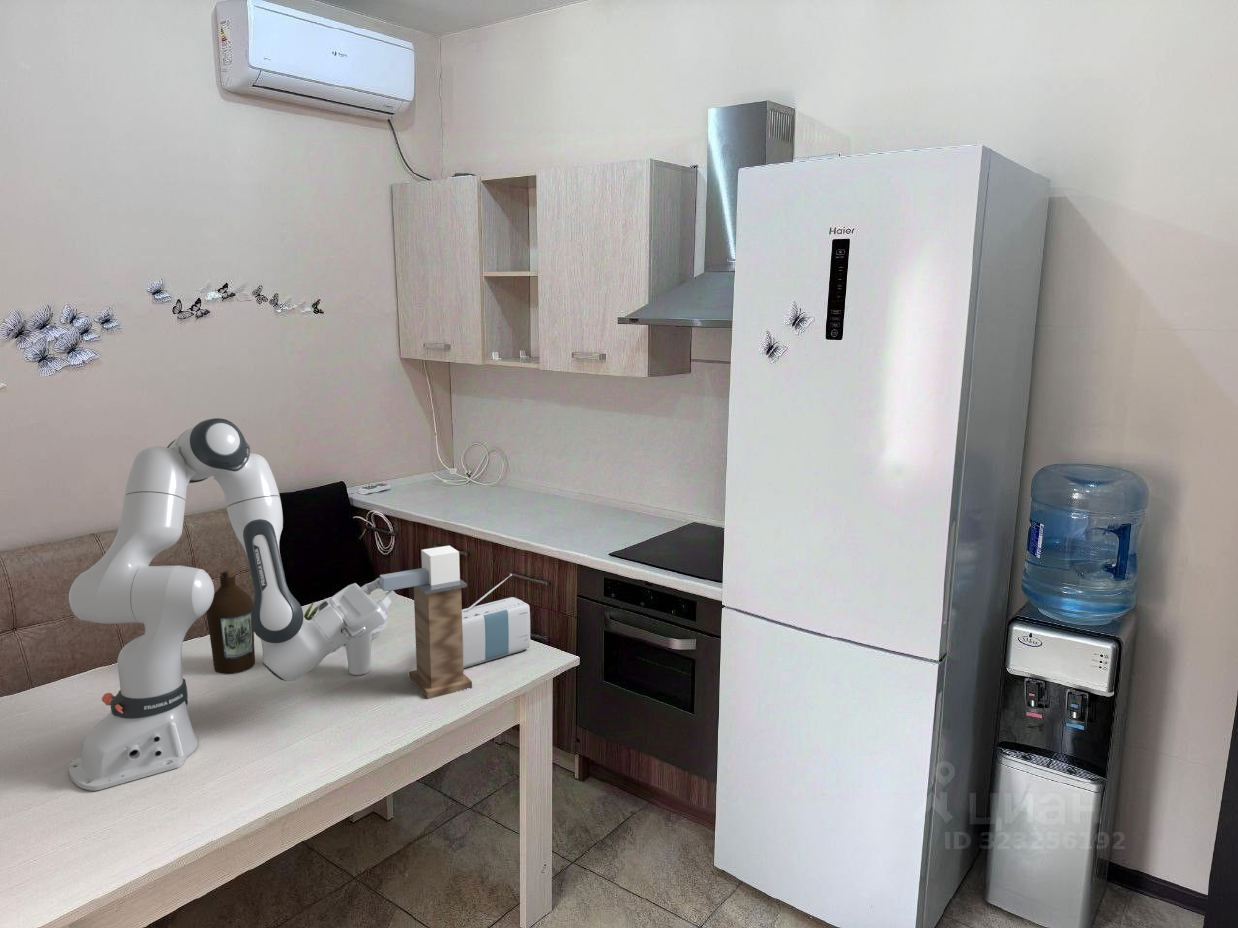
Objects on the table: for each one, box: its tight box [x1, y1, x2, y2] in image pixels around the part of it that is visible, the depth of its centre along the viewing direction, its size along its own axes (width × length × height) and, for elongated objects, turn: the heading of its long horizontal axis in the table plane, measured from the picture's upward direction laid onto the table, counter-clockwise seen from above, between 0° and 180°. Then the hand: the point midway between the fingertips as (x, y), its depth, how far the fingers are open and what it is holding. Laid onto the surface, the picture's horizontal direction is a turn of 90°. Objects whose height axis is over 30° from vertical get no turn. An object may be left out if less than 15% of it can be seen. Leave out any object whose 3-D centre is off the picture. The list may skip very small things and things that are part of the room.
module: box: [379, 544, 461, 592], centre depth 196 cm, size 18×6×7 cm, turn 123°
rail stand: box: [408, 578, 473, 700], centre depth 201 cm, size 11×13×26 cm
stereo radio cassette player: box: [462, 573, 531, 670], centre depth 217 cm, size 21×8×20 cm, turn 129°
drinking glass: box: [344, 631, 373, 676], centre depth 208 cm, size 7×7×15 cm
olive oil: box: [205, 568, 256, 675], centre depth 209 cm, size 11×11×25 cm
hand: (388, 586), depth 192 cm, fingers open, 8 cm apart
